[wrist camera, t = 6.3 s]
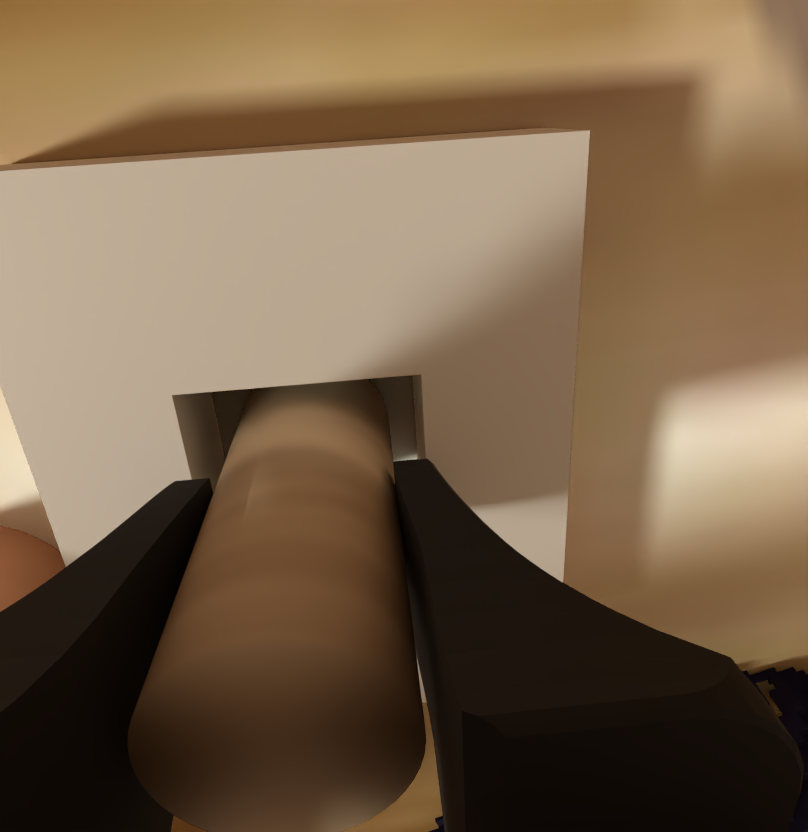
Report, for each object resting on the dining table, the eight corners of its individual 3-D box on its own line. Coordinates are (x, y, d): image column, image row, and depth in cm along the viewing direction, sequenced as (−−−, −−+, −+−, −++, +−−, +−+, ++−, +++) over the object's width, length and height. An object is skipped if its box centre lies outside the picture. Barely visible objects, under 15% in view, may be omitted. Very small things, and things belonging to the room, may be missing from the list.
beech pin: (397, 477, 15) (439, 819, 8) (260, 497, 15) (174, 860, 8) (377, 348, 14) (407, 617, 6) (227, 370, 13) (84, 666, 6)
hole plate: (530, 613, 17) (556, 688, 15) (155, 651, 17) (125, 733, 15) (545, 127, 12) (589, 130, 10) (6, 164, 12) (-76, 175, 9)
